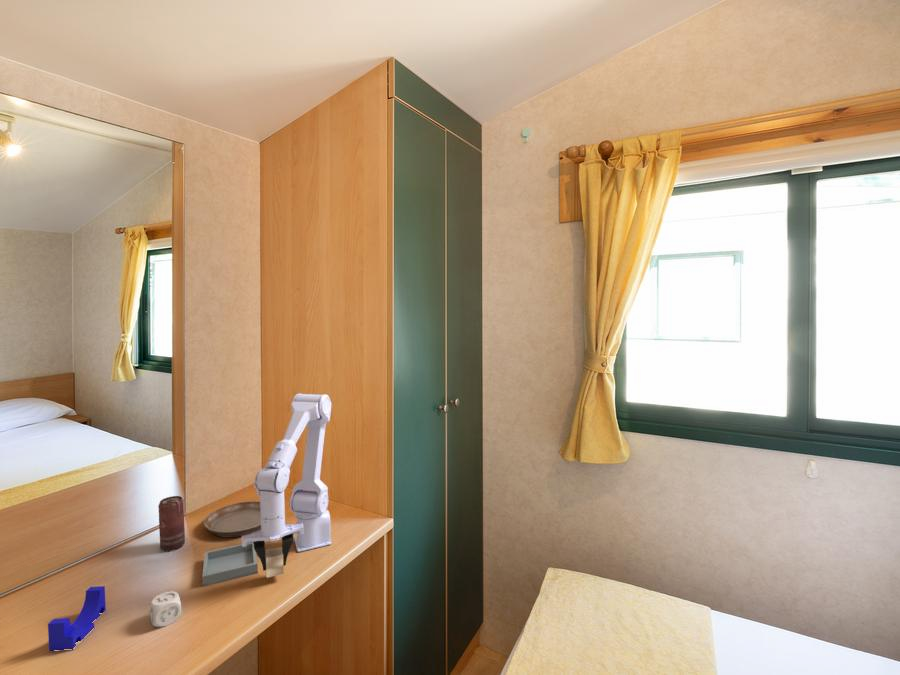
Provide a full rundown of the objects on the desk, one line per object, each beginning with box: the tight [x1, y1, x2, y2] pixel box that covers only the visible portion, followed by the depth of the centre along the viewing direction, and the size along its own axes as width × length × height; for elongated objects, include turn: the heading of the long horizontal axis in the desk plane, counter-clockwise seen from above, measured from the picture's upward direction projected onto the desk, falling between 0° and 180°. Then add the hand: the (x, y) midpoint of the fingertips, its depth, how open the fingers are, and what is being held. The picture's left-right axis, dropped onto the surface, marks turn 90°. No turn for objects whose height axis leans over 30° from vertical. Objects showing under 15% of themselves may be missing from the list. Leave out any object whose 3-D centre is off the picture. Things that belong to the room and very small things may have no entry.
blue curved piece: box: [47, 585, 107, 652], centre depth 95 cm, size 12×4×6 cm, turn 5°
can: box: [158, 495, 186, 552], centre depth 128 cm, size 6×6×14 cm
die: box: [149, 590, 182, 628], centre depth 98 cm, size 5×5×5 cm
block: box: [265, 546, 285, 579], centre depth 113 cm, size 4×4×5 cm
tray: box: [201, 543, 259, 587], centre depth 118 cm, size 13×13×2 cm
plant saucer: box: [203, 500, 261, 538], centre depth 142 cm, size 21×21×3 cm
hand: (274, 566), depth 113 cm, fingers closed on block, 4 cm apart
